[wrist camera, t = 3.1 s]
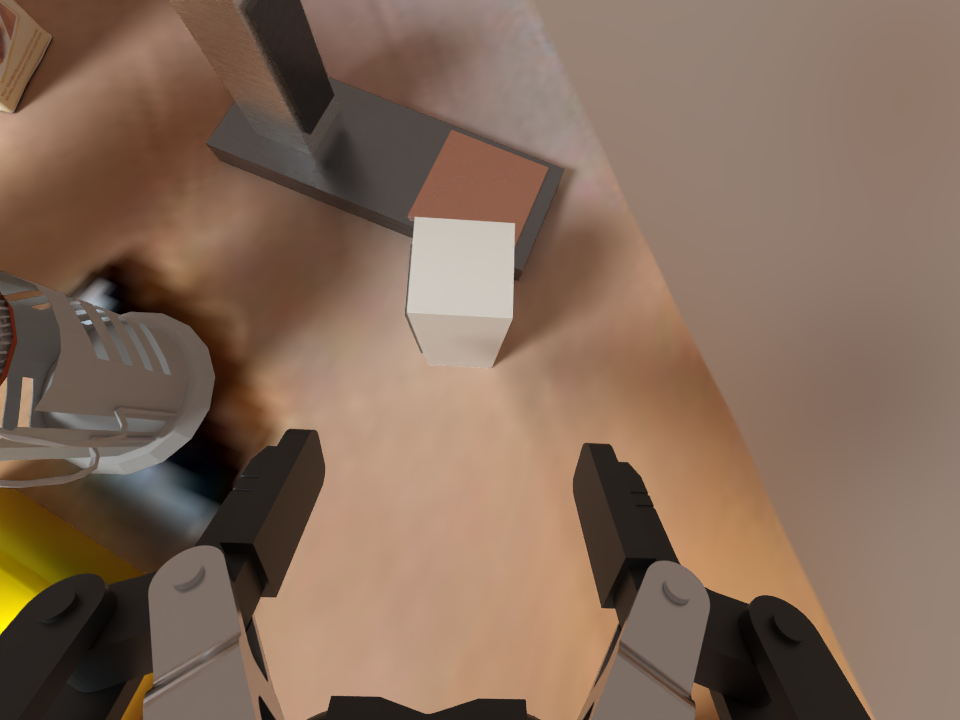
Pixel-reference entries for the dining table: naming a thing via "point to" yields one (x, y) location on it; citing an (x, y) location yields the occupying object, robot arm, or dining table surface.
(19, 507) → the element tile
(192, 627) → the robot arm
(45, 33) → the coffeecake box
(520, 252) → the grey stand
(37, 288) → the french press
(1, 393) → the dining table surface
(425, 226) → the block
